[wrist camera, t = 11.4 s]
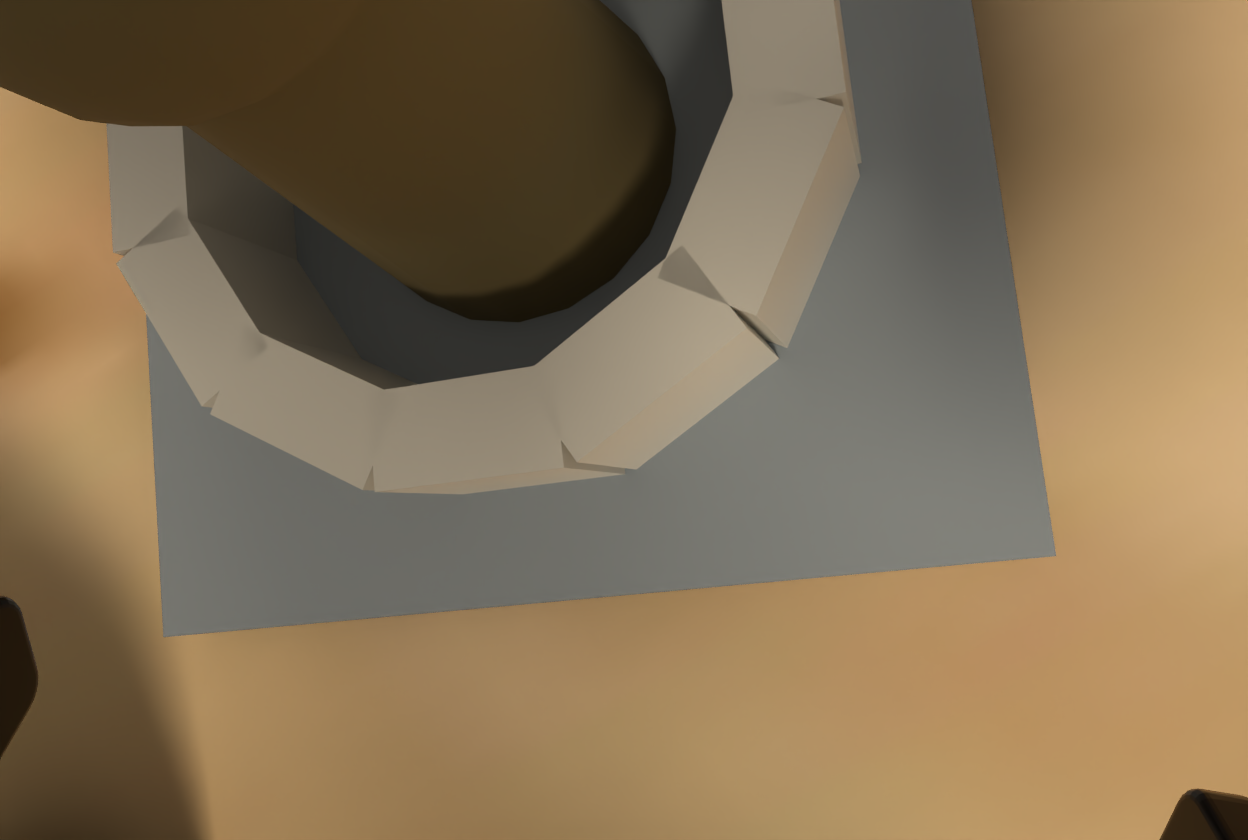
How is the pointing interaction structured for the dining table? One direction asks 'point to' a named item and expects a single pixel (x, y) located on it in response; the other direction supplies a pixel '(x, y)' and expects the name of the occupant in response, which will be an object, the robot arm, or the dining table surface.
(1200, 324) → the dining table surface
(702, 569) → the mount
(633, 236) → the cork
